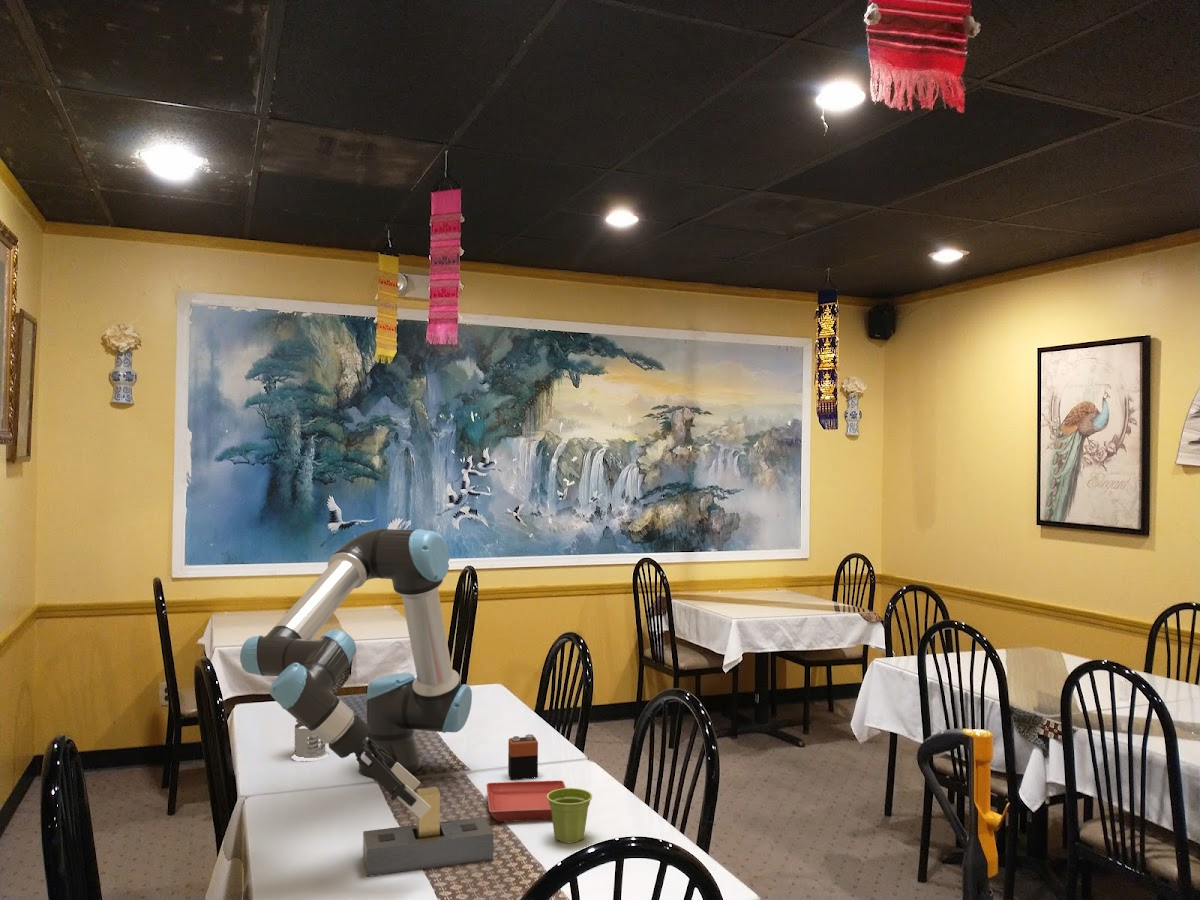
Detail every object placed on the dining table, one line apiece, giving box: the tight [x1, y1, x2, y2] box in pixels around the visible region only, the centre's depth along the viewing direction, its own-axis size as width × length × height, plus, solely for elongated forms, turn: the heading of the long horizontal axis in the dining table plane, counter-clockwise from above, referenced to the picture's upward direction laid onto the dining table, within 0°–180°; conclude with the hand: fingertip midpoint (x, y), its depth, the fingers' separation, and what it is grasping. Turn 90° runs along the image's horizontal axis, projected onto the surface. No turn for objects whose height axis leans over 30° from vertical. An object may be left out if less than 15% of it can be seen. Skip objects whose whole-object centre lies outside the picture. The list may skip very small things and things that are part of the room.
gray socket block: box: [362, 816, 494, 877], centre depth 180 cm, size 24×9×5 cm, turn 109°
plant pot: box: [547, 787, 593, 844], centre depth 190 cm, size 9×9×9 cm
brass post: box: [415, 786, 441, 840], centre depth 180 cm, size 4×4×12 cm
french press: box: [293, 719, 329, 758], centre depth 243 cm, size 10×12×25 cm
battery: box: [507, 733, 539, 780], centre depth 227 cm, size 4×7×10 cm, turn 104°
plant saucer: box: [486, 780, 567, 822], centre depth 207 cm, size 18×18×3 cm
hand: (420, 800), depth 179 cm, fingers open, 13 cm apart
